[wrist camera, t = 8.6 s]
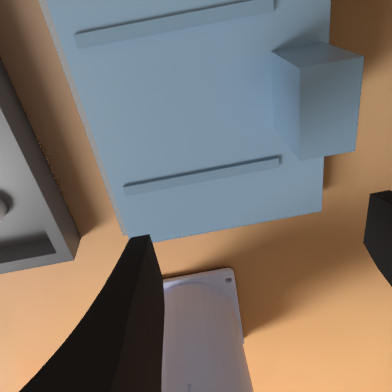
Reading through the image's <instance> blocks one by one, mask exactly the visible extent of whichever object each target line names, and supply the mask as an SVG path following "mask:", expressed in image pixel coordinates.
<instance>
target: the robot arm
mask: <svg viewBox="0 0 392 392" xmlns="http://www.w3.org/2000/svg"><path fill="white" fill-rule="evenodd" d="M363 243H364V244H365V246H366V248H367V250H368V252H369V254H370V255H371V257H372V259H373V261H374V262H375V264H376V266H377V267H378V269H379V270H380V272H381V273H382V274H383V276H384V277H385V278H386V280H387V281H388V282H389V284H390V285H391V286H392V191H390V190H388V191H383V192H377V193H372V194H370V198H369V206H368V213H367V220H366V228H365V235H364V242H363ZM227 278H230V279H227ZM243 344H244V338H243V331H242V324H241V318H240V311H239V304H238V297H237V290H236V283H235V276H234V271H233V269H231V268H223V269H217V270H212V271H207V272H201V273H196V274H191V275H185V276H180V277H174V278H169V279H164V280H163V278H162V274H161V271H160V267H159V264H158V261H157V257H156V254H155V251H154V247H153V244H152V240H151V237H150V234H147V235H142V236H136V237H131V238H130V240H129V241H128V243H127V245H126V247H125V249H124V251H123V253H122V255H121V257H120V258H119V260H118V262H117V264H116V266H115V268H114V269H113V271H112V273H111V275H110V276H109V278H108V280H107V281H106V283H105V285H104V286H103V288H102V290H101V291H100V293H99V294H98V296H97V297H96V299H95V300H94V302H93V303H92V305H91V306H90V308H89V309H88V311H87V312H86V314H85V315H84V317H83V318H82V319H81V321H80V322H79V324H78V325H77V326H76V328H75V329H74V330H73V331H72V333H71V334H70V335H69V337H68V338H67V339H66V340H65V342H64V343H63V344H62V345H61V346H60V348H59V349H58V350H57V351H56V352H55V353H54V355H53V356H52V357H51V358H50V359H49V360H48V361H47V362H46V364H45V365H44V366H43V367H42V368H41V369H40V370H39V371H38V373H37V374H36V375H35V376H34V377H33V378H32V379H31V380H30V381H29V382H28V383H27V384H26V385H25V386H24V387H23V388H22V389H21V390H20V391H19V392H254V391H253V387H252V383H251V378H250V374H249V370H248V365H247V361H246V356H245V352H244V348H243Z"/></svg>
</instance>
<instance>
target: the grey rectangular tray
mask: <svg viewBox="0 0 392 392" xmlns="http://www.w3.org/2000/svg"><path fill="white" fill-rule="evenodd" d="M80 240H81V237H80V235H79V233H78V230H77V228H76V226H75V224H74V221H73V219H72V217H71V215H70V213H69V210H68V208H67V206H66V204H65V201H64V199H63V197H62V195H61V192H60V190H59V188H58V186H57V184H56V181H55V179H54V177H53V175H52V172H51V170H50V168H49V166H48V163H47V161H46V159H45V157H44V155H43V152H42V150H41V148H40V146H39V143H38V141H37V139H36V137H35V134H34V132H33V130H32V128H31V125H30V123H29V121H28V119H27V117H26V114H25V112H24V110H23V108H22V105H21V103H20V101H19V99H18V96H17V94H16V92H15V90H14V88H13V85H12V83H11V81H10V79H9V76H8V74H7V72H6V70H5V67H4V65H3V63H2V61H1V59H0V274H3V273H8V272H14V271H19V270H24V269H30V268H35V267H40V266H46V265H51V264H56V263H62V262H67V261H72V260H74V259H75V256H76V253H77V249H78V246H79V243H80Z"/></svg>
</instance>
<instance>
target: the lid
mask: <svg viewBox="0 0 392 392" xmlns="http://www.w3.org/2000/svg"><path fill="white" fill-rule="evenodd" d="M46 1H47V4H48V7H49V10H50V13H51V16H52V19H53V22H54V24H55V27H56V30H57V33H58V36H59V39H60V42H61V45H62V47H63V50H64V53H65V56H66V59H67V62H68V65H69V68H70V70H71V73H72V76H73V79H74V82H75V85H76V88H77V90H78V93H79V96H80V99H81V102H82V105H83V108H84V111H85V113H86V116H87V119H88V122H89V125H90V128H91V131H92V134H93V136H94V139H95V142H96V145H97V148H98V151H99V154H100V157H101V159H102V162H103V165H104V168H105V171H106V174H107V177H108V180H109V182H110V185H111V188H112V191H113V194H114V197H115V200H116V203H117V205H118V208H119V211H120V214H121V217H122V220H123V223H124V226H125V228H126V231H127V234H128V237H129V240H130V238H131V237H136V236H142V235H147V234H150V237H151V240H152V243H154V242H159V241H165V240H170V239H176V238H181V237H186V236H192V235H197V234H202V233H208V232H213V231H219V230H224V229H229V228H235V227H240V226H245V225H251V224H256V223H262V222H267V221H272V220H278V219H283V218H289V217H294V216H299V215H305V214H310V213H315V212H321V211H322V191H323V169H324V157H325V156H330V155H335V154H341V153H346V152H351V151H355V146H356V136H357V126H358V116H359V105H360V95H361V85H362V75H363V65H364V56H362V55H359V54H356V53H354V52H351V51H348V50H345V49H342V48H339V47H336V46H333V45H330V44H329V33H330V11H331V0H46Z"/></svg>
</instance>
